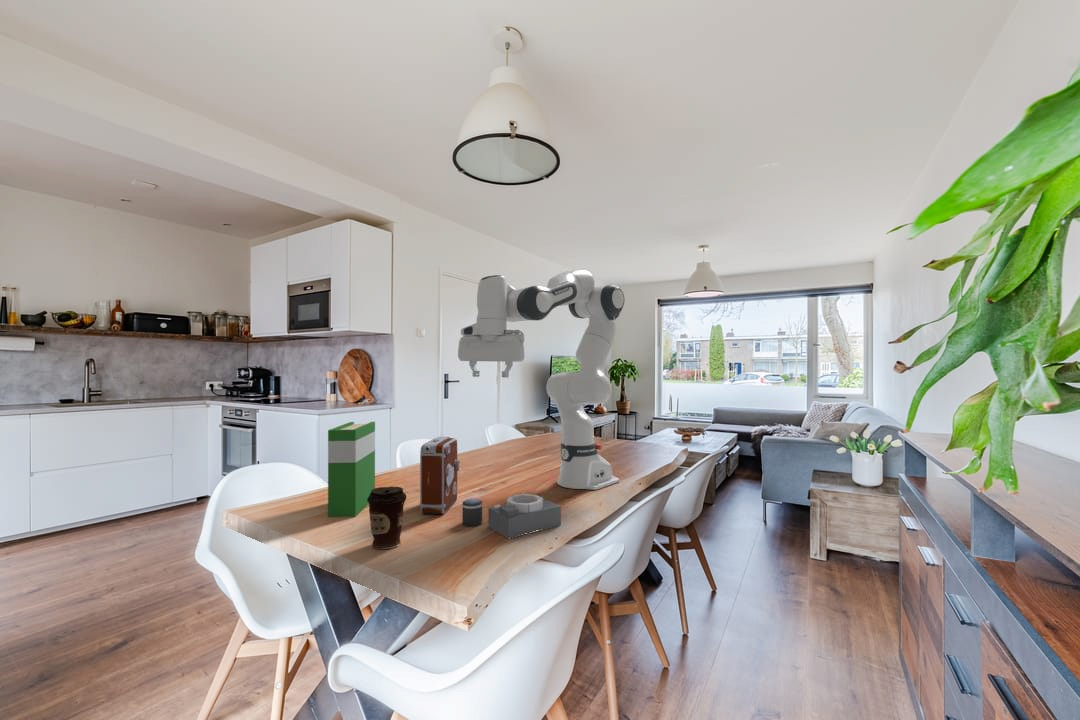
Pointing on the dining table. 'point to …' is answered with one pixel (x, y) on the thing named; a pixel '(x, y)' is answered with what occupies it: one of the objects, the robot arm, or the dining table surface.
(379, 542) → the coffee cup
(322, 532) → the dining table surface
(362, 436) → the hardback book
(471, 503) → the lens
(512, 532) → the camera body
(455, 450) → the cine camera
